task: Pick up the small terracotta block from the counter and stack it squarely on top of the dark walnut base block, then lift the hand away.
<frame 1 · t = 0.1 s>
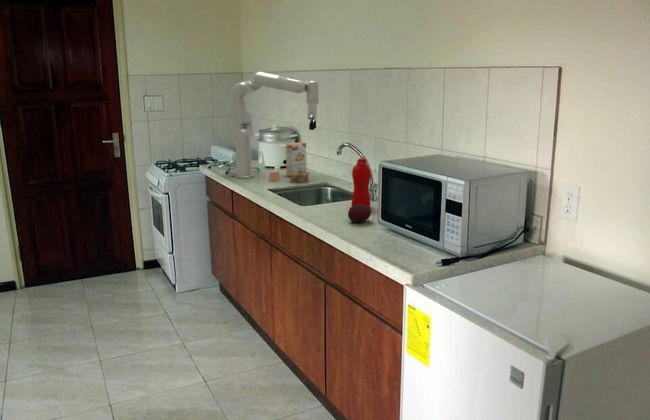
hand: (312, 128, 332), 31 cm above the worktop, tool pointing down, fingers open, 9 cm apart
walnut base: (299, 181, 329), on the worktop
potato: (359, 222, 242), on the worktop
cracker box: (296, 175, 349), on the worktop
terracotta block: (274, 181, 331), on the worktop
water bottle: (359, 208, 266), on the worktop
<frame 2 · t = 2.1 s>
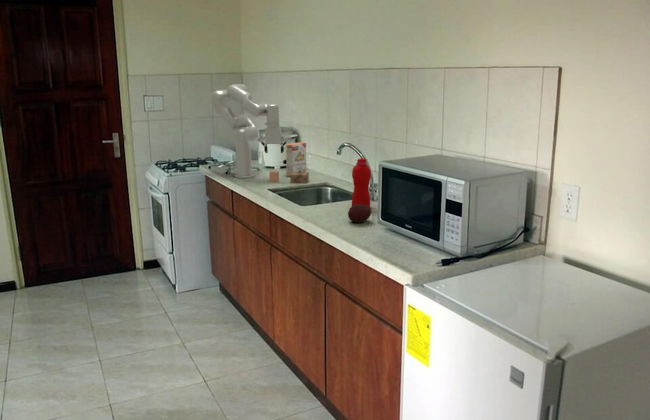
hand: (274, 152, 326), 18 cm above the worktop, tool pointing down, fingers open, 9 cm apart
nothing on the worktop moved.
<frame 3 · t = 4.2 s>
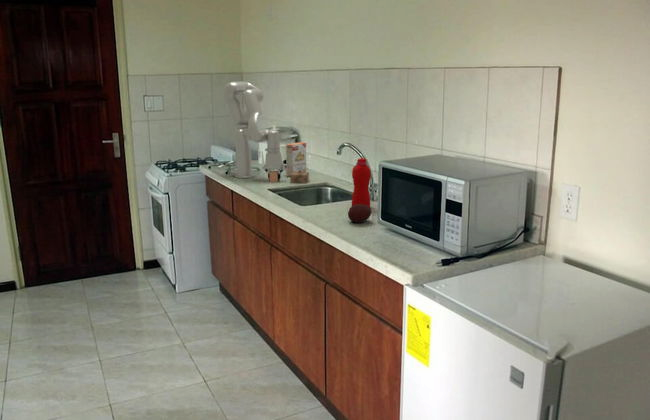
hand: (274, 179, 330), 1 cm above the worktop, tool pointing down, fingers closed on terracotta block, 5 cm apart
terracotta block: (274, 180, 331), on the worktop, touching gripper
everything else where it was.
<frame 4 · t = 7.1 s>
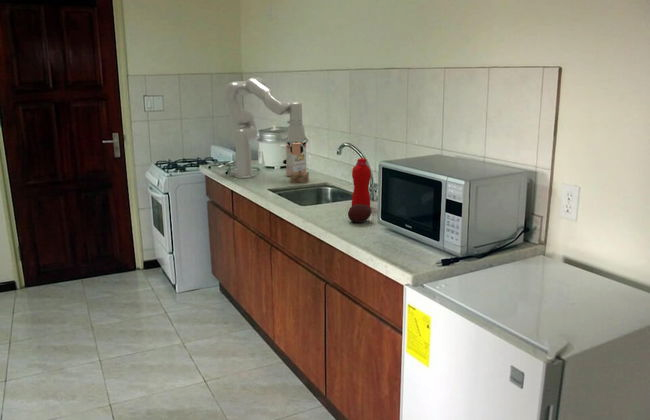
hand: (296, 152, 324), 18 cm above the worktop, tool pointing down, fingers closed on terracotta block, 5 cm apart
terracotta block: (296, 154, 324), point 17 cm above the worktop, touching gripper
everything else where it was.
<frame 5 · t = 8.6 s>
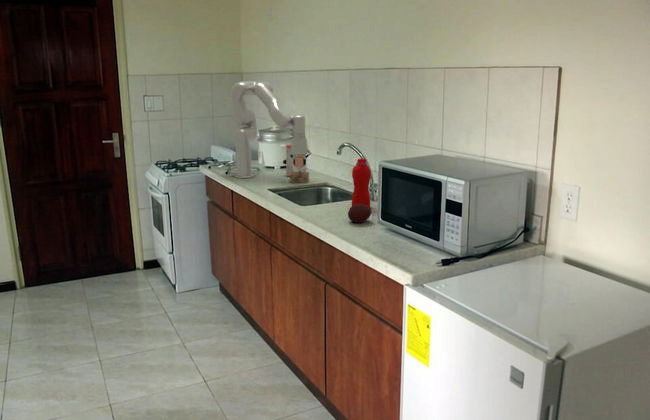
hand: (299, 165, 326), 10 cm above the worktop, tool pointing down, fingers closed on terracotta block, 5 cm apart
terracotta block: (299, 166, 326), point 9 cm above the worktop, touching gripper
everything else where it was.
when the fingers open (7 cm above the worktop, at t = 10.0 s): terracotta block drops 1 cm, resting on walnut base.
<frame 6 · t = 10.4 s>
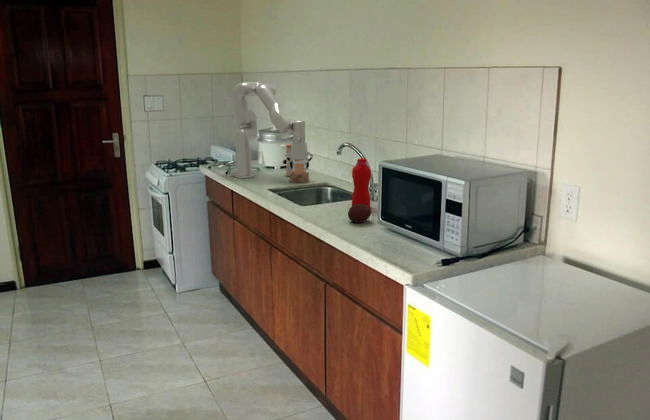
hand: (299, 168, 326), 8 cm above the worktop, tool pointing down, fingers open, 9 cm apart
terracotta block: (299, 173, 327), point 5 cm above the worktop, touching walnut base
everything else where it was.
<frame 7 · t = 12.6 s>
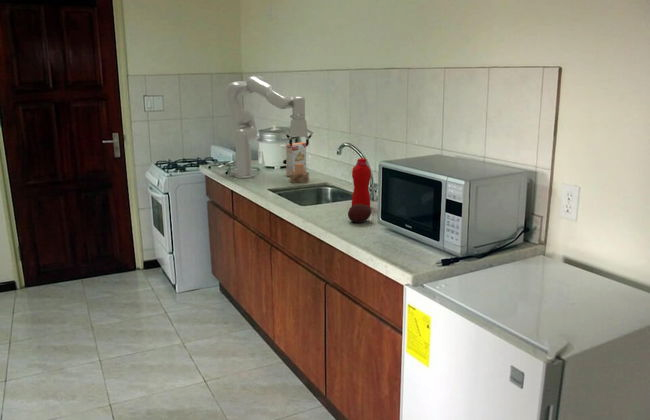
hand: (299, 145, 323), 22 cm above the worktop, tool pointing down, fingers open, 9 cm apart
nothing on the worktop moved.
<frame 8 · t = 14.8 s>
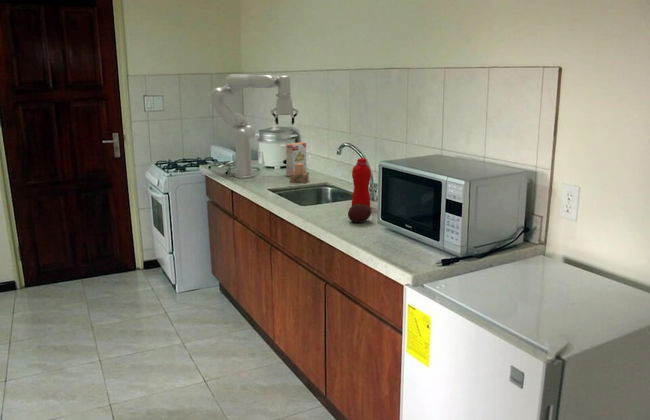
hand: (284, 124, 329), 34 cm above the worktop, tool pointing down, fingers open, 9 cm apart
nothing on the worktop moved.
at the end: terracotta block 0.0 cm off-centre on the walnut base, point 5.0 cm above the walnut base's base; terracotta block tilted 0°; the gripper is holding nothing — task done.
